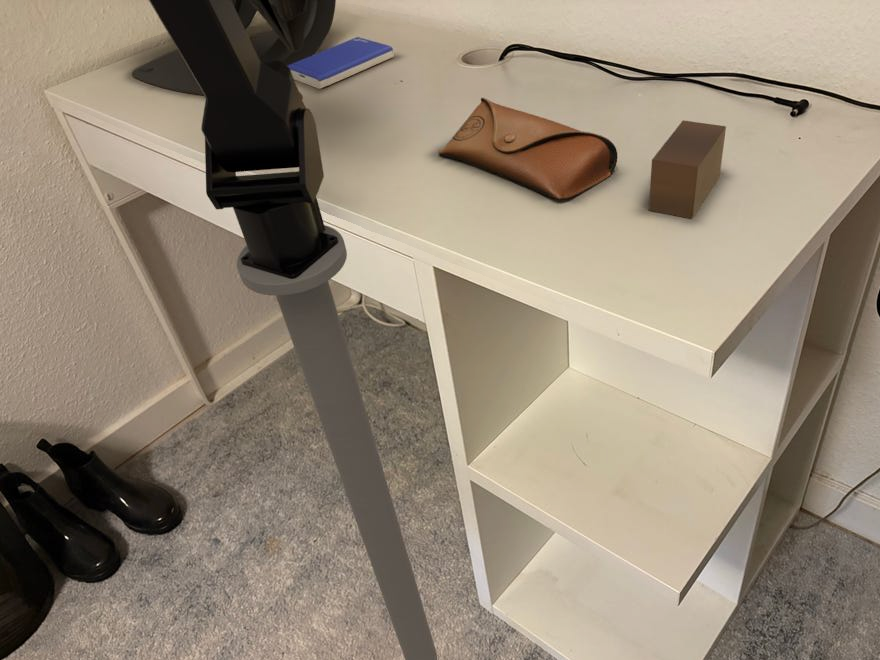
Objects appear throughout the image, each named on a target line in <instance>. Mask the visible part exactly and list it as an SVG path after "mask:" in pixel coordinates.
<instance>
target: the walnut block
mask: <svg viewBox="0 0 880 660" xmlns="http://www.w3.org/2000/svg"><path fill="white" fill-rule="evenodd" d="M726 131H727V126H726V125H720V124H714V123H713V124H711V123H706V122H705V123H704V122H698V121H691V120H681V122H680V123H679V124H678V126H677V127H676V129H675V130H674V131H673V132H672V134H671V135H670V136H669V137H668V138H667V139H666V141H665V142H664V144H663V145H662V146H661V147H660V149H659V150H658V151H657V152H656V153H655V155H654V156H653V158H652V159H651V168H650V182H649V183H650V184H649V200H648V211H649V212H656V213H659V214H660V213H661V214H666V215H671V216H675V217H676V216H677V217H680V218H681V217H682V218H685V219H693V218H694V217H695V215H696V213H697V212H698V211H699V209H700V207H701V206H702V204H703V203H704V201H705V200H706V198H707V197H708V195H709V193H710V192H711V191H712V189H713V187H714V186H715V184H716V183H717V182H718V179H719V178H720V176H721V170H722V169H721V168H722V161H723V153H724V145H725V138H726Z"/></svg>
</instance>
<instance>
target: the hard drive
mask: <svg viewBox="0 0 880 660" xmlns="http://www.w3.org/2000/svg"><path fill="white" fill-rule="evenodd" d="M394 57H395V53H394V49H393V47H392V46H390V45H388V44H385V43H381V42H378V41H374V40H370V39H368V38H364V37H360V36H356V37H352V38H351V39H348V40H346V41H343V42H341V43H339V44H336V45H334V46H332V47H330V48H327V49H324V50H322V51H319V52H317V53H314V55H312V56H310V57H307V58H305V59H302V60H300V61H298V62H295V63H293V64H291V65H288V67H289V69H290V70H291V73H292V76H293V79H294V81H295V82H299V83H302V84H305V85H307V86H310V87H313V88H315V89H319V90H321V89H323V88H325V87H328V86H331V85H333V84H335V83H338V82H339V81H342V80H344V79H347V78H348V77H351V76H354V75H355V74H358V73H360V72H363V71H365V70H367V69H369V68H371V67H374V66H376V65H378V64H381V63H383V62H386V61H388V60H390V59H392V58H394Z"/></svg>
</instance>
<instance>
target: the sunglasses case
mask: <svg viewBox="0 0 880 660" xmlns="http://www.w3.org/2000/svg"><path fill="white" fill-rule="evenodd" d="M437 153H438V154H439V155H441V156H445V157H449V158H451V159H455V160H458V161H462V162H465V163H468V164H470V165H471V166H474V167H477V168H480V169H482V170H485V171H487V172H489V173H492V174H495V175H497V176H499V177H501V178H504V179H506V180H509V181H510V182H513V183H515V184H517V185H520V186H522V187H524V188H527V189H529V190H533V191H535V192H538V193H540V194H543V195H546V196H548V197H552V198H555V199H557V200H558V201H559V200H569V199H571V198H573V197H576V196H578V195H580V194H583V193H584V192H587V191H588V190H589V189H592V188H593V187H595V186H597V185H599V184H600V183H602V182H603V181H605V180H607V179H608V178H610V177H611V176H612V174H613V173H614V171H615V169H616V167H617V163H618V157H619V156H618V150H617V147H616V145H615V144H614V143H613V142H612V140H610V139H609V138H608V137H605V136H603V135H600V134H597V133H594V132H589V131H583V130H579V129H576V128H574V127H571V126H569V125H565V124H563V123H560V122H557V121H554V120H551V119H548V118H546V117H545V118H544V117H542V116H539V115H535V114H531V113H528V112H525V111H522V110H519V109H515V108H511V107H507V106H506V105H501V104H499V103H495V102H493V101H491V100H490V99H487V98H485V97H481V98H480V103H479V104H478V105H477V106H476V107H475V108H474V110H473V111H472V113H470V115H469V116H468V117H467V119H466V120H465V121H464V122H463V124H462V125H461V126H460V128H458V130H457V131H456V132H455V134H454V135H453V136H452V137H451V139H450V140H448V143H447V144H446V145H445V147H444V148H442V149H440V150H438V152H437Z"/></svg>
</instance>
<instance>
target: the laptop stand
mask: <svg viewBox="0 0 880 660" xmlns="http://www.w3.org/2000/svg"><path fill="white" fill-rule="evenodd" d="M231 1H232V3H233V5H234V7H235V10H236V12H237V14H238V16H239V18H240V20H241V22H242V24H243V26H244V29H245V31H246V30H247V29H248V28H249V27H250V25H251V23H252V22H253V20H254V18H255V16H256V14H257V12H258V11H257V10H256V8H255V7H254V6H253V5H252V4H251V3H250V2H249V1H248V0H231ZM336 4H337V0H307V6H306V18H305V30H304V42H303V48H302V49H301V50H299V51H298V52H294V51H290V50H289V49H288V48H287V46H286V45H285V44H284V43H283V41H282V40H281V39H280V38H279V36H278V35H277V34H276V33H275V31H274V30H272V31H271V30H270V31H266V32H263V33H261V34H259V35H256V36H254V37H251V38H249V39H250V41H251V43H252V45H253V48H254V50H255V52H256V54H257V56H258V58H259V60H260V61H261V62H262V63H263V62H274V61H283V62H284V63H285V64H286V65H287V66H288V65H291V64H293V63H295V62H298V61H300V60H302V59H305V58H307V57H310V56H312V55H315V54H316V52H317V51H318V50H319V48H320V47H321V46H322V45H323V43H324V41H325V40H326V38H327V37H328V35H329V33H330V31H331V29H332V24H333V22H334V17H335V12H336V11H335V10H336ZM131 76H132V77H133V78H134V79H136V80H139V81H140V82H144V83H146V84H149V85H152V86H155V87H159V88H163V89H166V90H171V91H175V92H181V93H186V94H193V95H199V96H204V94H203V92H202V90H201V88H200V86H199V85H198V83H197V81H196V80H195V78H194V76H193V75H192V73H191V71H190V69H189V68H188V66H187V64H186V63H185V61H184V59H183V58H182V56H181V54H180V53H179V51H178V49H177V48H176V49H175V50H173V51H170V52H168V53H166V54H164V55H162V56H159V57H157V58H156V59H153V60H151V61H149V62H146V63H144V64H142V65H140V66H138V67H136V68H135V69H133V70H132V71H131Z"/></svg>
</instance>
